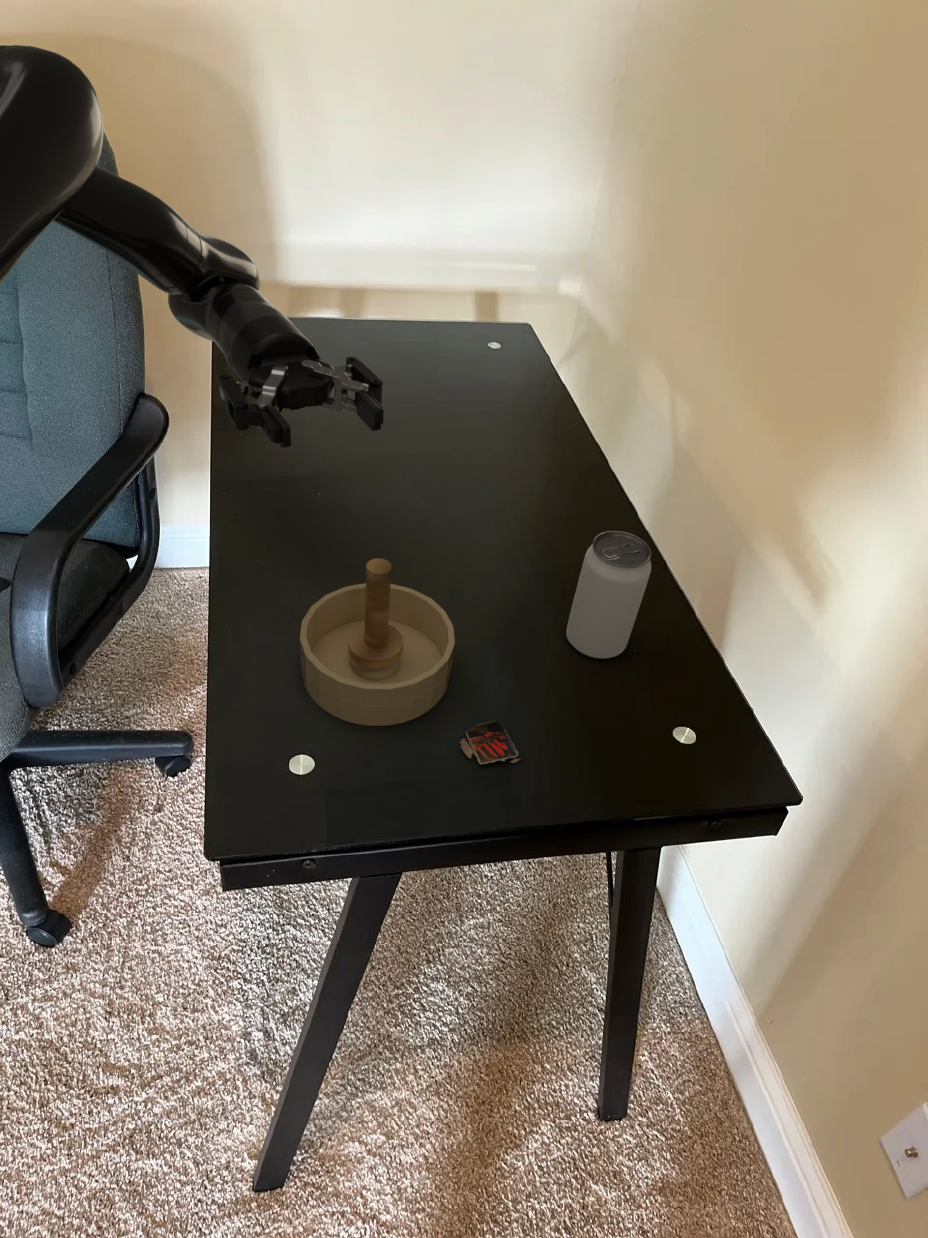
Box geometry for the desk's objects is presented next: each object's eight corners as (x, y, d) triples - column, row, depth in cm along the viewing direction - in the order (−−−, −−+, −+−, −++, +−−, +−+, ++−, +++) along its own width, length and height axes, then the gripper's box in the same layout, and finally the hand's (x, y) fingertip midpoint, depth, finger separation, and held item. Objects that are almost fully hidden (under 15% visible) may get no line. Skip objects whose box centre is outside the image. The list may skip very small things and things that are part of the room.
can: (554, 625, 87) (576, 534, 79) (605, 613, 90) (632, 523, 82) (584, 667, 83) (611, 575, 75) (638, 653, 85) (669, 562, 77)
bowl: (277, 703, 76) (274, 664, 72) (334, 606, 86) (333, 569, 83) (426, 743, 74) (430, 705, 70) (465, 639, 84) (470, 603, 81)
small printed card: (493, 718, 77) (494, 715, 76) (527, 757, 74) (527, 753, 73) (452, 738, 74) (452, 735, 74) (485, 778, 71) (485, 775, 71)
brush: (339, 674, 78) (340, 576, 70) (358, 638, 82) (360, 542, 74) (392, 687, 78) (398, 591, 70) (408, 651, 81) (416, 555, 73)
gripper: (190, 322, 76) (251, 402, 66) (333, 306, 82) (408, 377, 73) (199, 397, 81) (257, 482, 71) (333, 376, 87) (404, 452, 78)
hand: (333, 429), depth 72 cm, fingers open, 8 cm apart
